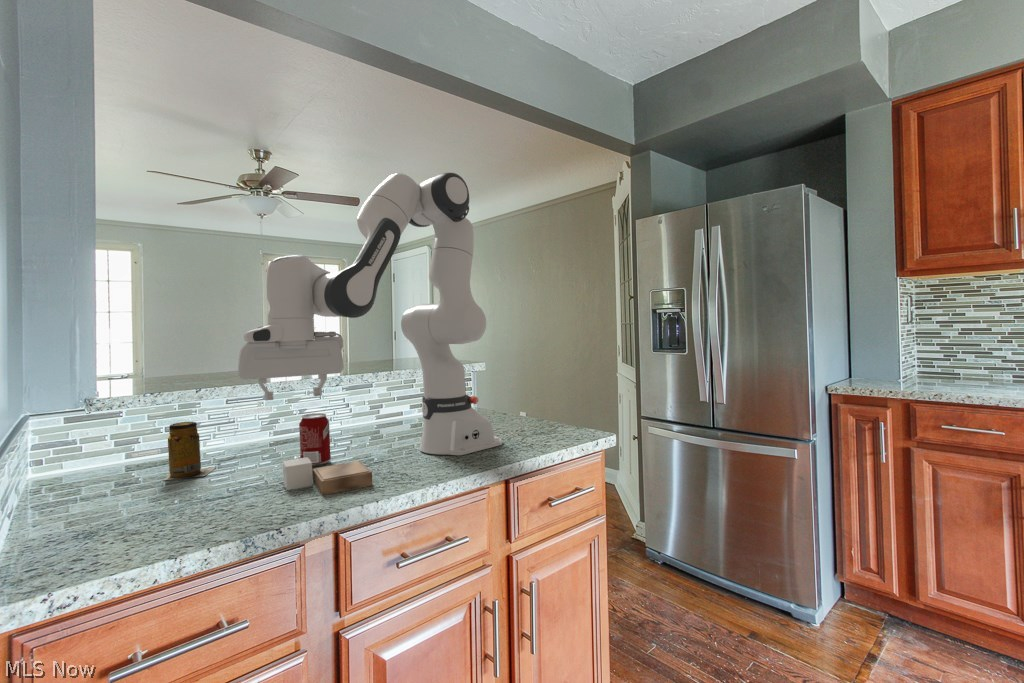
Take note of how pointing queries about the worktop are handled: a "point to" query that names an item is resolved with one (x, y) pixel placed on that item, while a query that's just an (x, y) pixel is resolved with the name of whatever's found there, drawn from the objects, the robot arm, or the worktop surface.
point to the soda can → (315, 438)
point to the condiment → (184, 452)
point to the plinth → (341, 477)
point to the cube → (297, 473)
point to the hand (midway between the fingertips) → (294, 397)
